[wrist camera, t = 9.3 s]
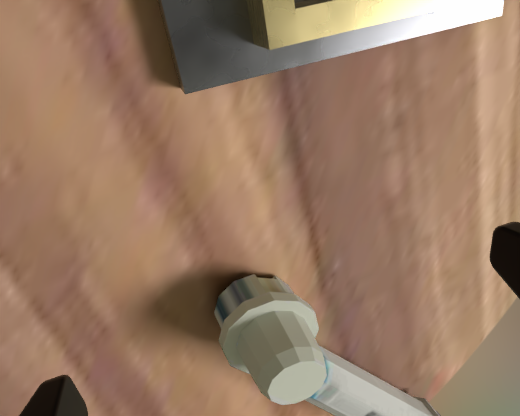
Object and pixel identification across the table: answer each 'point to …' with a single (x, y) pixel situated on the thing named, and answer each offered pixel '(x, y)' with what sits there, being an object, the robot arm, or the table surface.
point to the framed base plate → (296, 32)
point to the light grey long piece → (299, 354)
